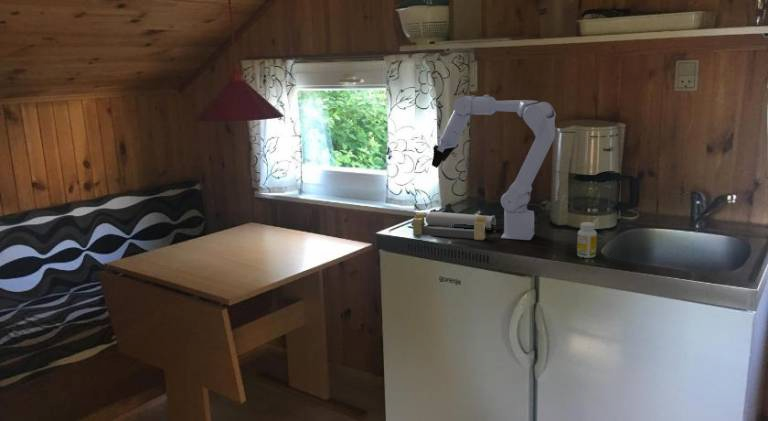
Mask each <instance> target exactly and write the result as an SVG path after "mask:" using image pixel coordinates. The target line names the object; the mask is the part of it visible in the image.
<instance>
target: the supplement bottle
mask: <svg viewBox="0 0 768 421" xmlns="http://www.w3.org/2000/svg"><path fill="white" fill-rule="evenodd" d="M595 229H596V223H594V222H589V221H585V222H581V223H580V229H579V230H578V231H577V243H576V244H577V245H576V255H577V257H579V258H583V257H584V258H585V259H589V258H595V256H596V255H597V240H598V233H597V231H596V230H595Z"/></svg>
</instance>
